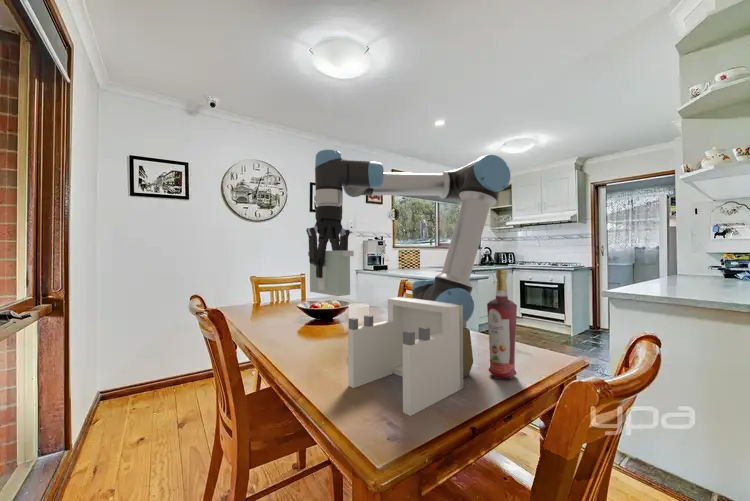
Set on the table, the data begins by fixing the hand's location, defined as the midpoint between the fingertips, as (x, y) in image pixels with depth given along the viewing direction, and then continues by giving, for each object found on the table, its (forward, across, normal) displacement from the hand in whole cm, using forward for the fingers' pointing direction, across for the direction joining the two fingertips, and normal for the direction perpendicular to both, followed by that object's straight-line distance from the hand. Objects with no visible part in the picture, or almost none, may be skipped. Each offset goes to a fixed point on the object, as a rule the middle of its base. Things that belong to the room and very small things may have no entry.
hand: (329, 288), depth 90 cm
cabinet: (+23, -6, +23) cm, 33 cm away
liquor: (+23, -30, +36) cm, 52 cm away
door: (+1, 0, 0) cm, 1 cm away
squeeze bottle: (+23, -23, +27) cm, 42 cm away
